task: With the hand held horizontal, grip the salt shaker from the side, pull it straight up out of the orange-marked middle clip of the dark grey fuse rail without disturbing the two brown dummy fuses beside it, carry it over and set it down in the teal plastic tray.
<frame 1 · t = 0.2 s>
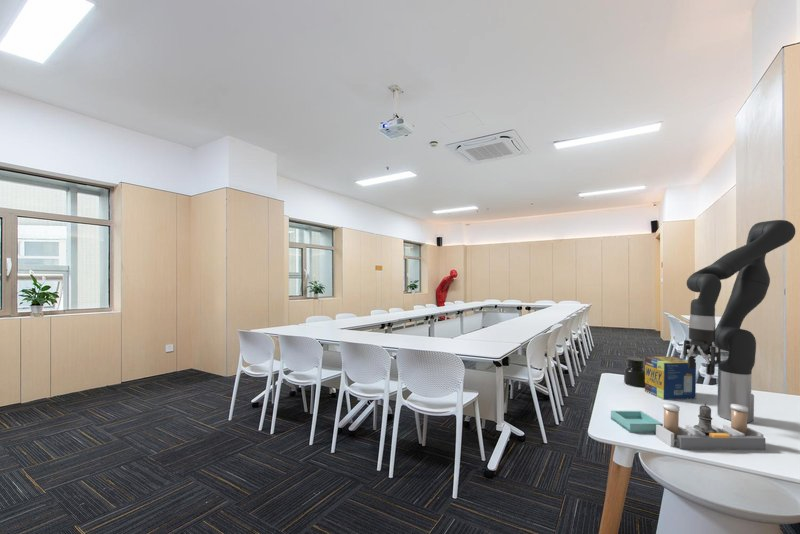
hand: (700, 371, 135), 17 cm above the table, tool pointing down, fingers open, 8 cm apart
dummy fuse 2: (738, 440, 118), resting in fuse rail
fuse rail: (704, 440, 118), on the table
tray: (635, 425, 128), on the table
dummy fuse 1: (670, 439, 118), resting in fuse rail
salt shaker: (704, 440, 118), resting in fuse rail
protein box: (669, 395, 160), on the table
ink bottle: (635, 384, 174), on the table
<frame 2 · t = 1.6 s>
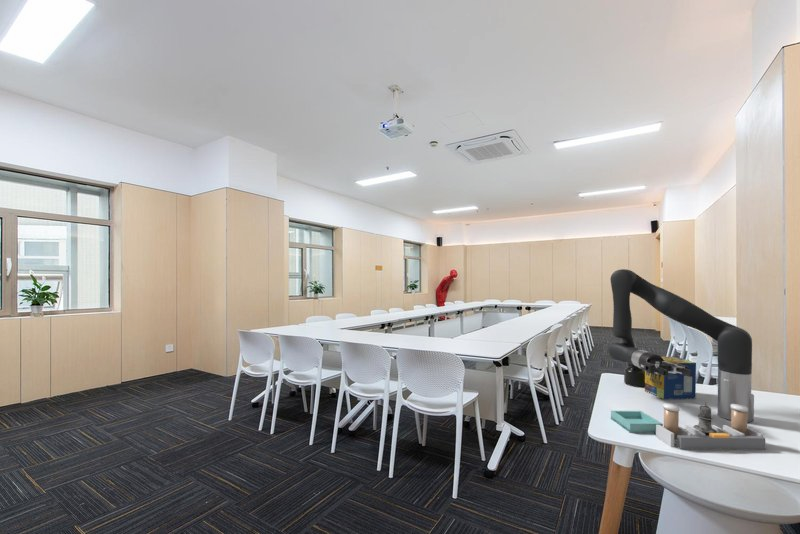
hand: (679, 373, 129), 18 cm above the table, tool horizontal, fingers open, 8 cm apart
nothing on the table moved.
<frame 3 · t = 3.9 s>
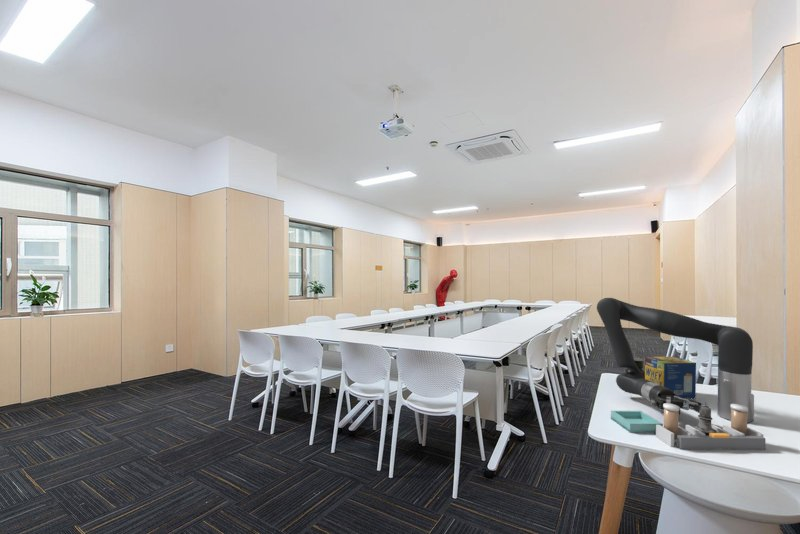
hand: (692, 411, 123), 7 cm above the table, tool horizontal, fingers open, 8 cm apart
nothing on the table moved.
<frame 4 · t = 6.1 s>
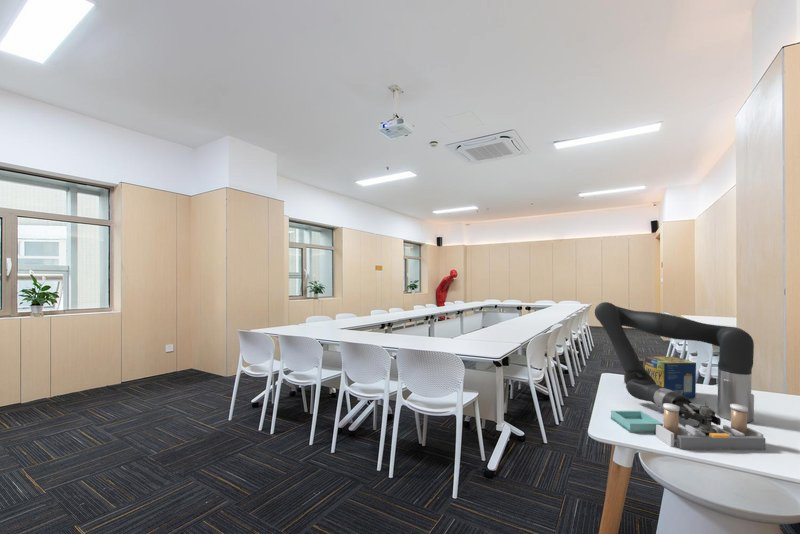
hand: (712, 421, 115), 7 cm above the table, tool horizontal, fingers closed on salt shaker, 3 cm apart
salt shaker: (704, 440, 118), resting in fuse rail, touching gripper
everything else where it was.
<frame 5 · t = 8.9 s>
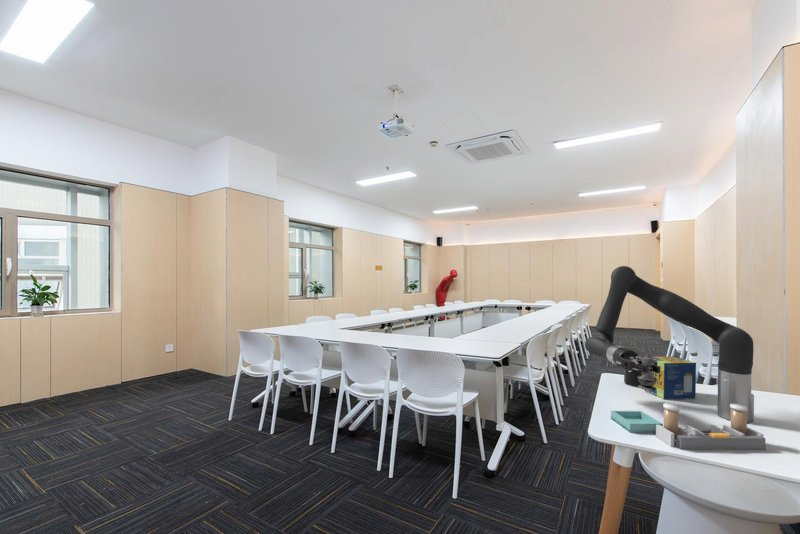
hand: (652, 370, 124), 21 cm above the table, tool horizontal, fingers closed on salt shaker, 3 cm apart
salt shaker: (646, 388, 126), point 13 cm above the table, touching gripper
everything else where it was.
when the fingers open (9 cm above the table, at t = 11.7 s): salt shaker drops 1 cm, resting on tray.
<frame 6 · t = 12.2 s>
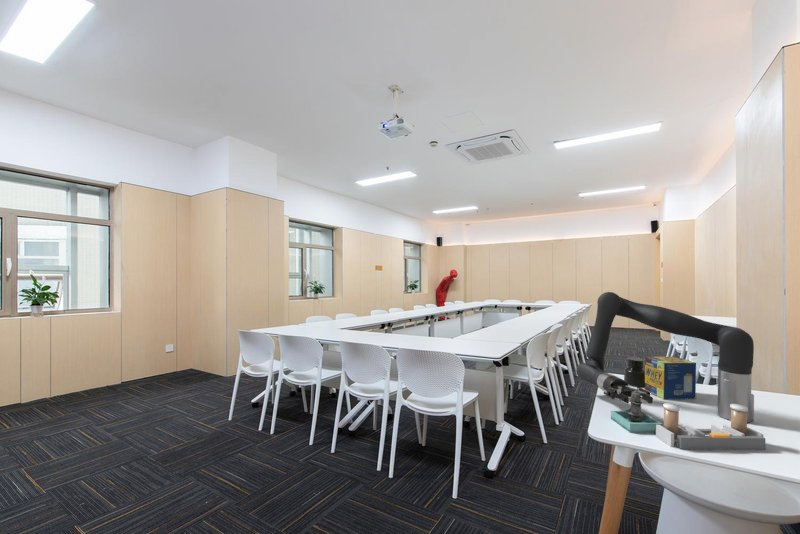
hand: (639, 400, 126), 9 cm above the table, tool horizontal, fingers open, 8 cm apart
salt shaker: (635, 423, 128), point 1 cm above the table, touching tray
everything else where it was.
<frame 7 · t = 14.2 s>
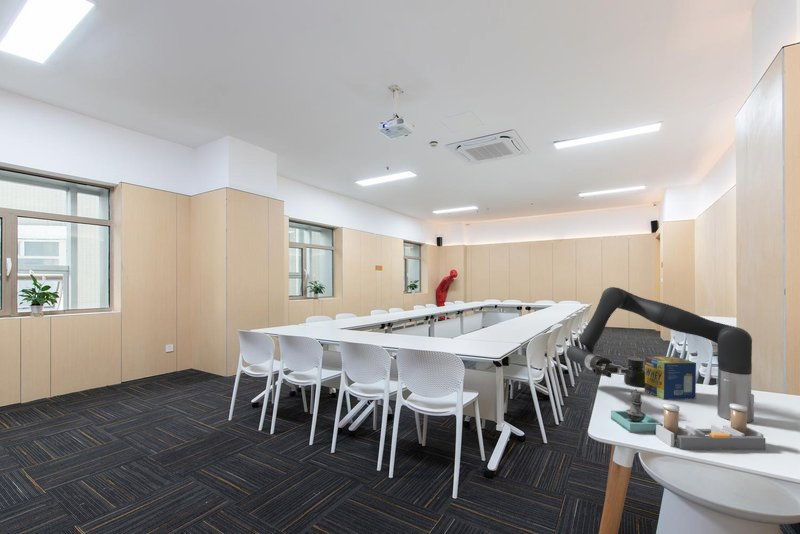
hand: (621, 374, 139), 14 cm above the table, tool horizontal, fingers open, 8 cm apart
nothing on the table moved.
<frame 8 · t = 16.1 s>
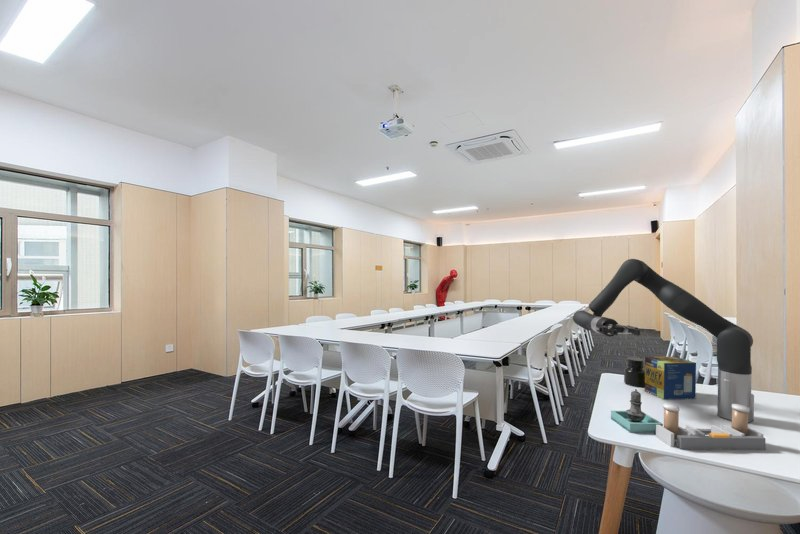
hand: (627, 332, 142), 30 cm above the table, tool horizontal, fingers open, 8 cm apart
nothing on the table moved.
at the end: salt shaker inside the target area on the tray (0.1 cm from its centre), point 0.6 cm above the tray's base; salt shaker tilted 0°; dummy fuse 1 moved 0.0 cm from its start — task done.
